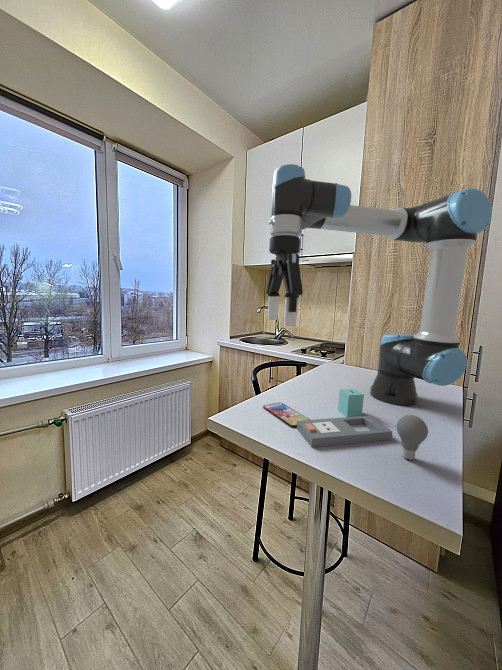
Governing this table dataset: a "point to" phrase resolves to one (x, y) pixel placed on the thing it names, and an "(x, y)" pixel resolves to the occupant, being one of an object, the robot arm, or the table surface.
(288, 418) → the smartphone
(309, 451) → the table surface
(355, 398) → the block
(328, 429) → the power strip
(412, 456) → the light bulb
